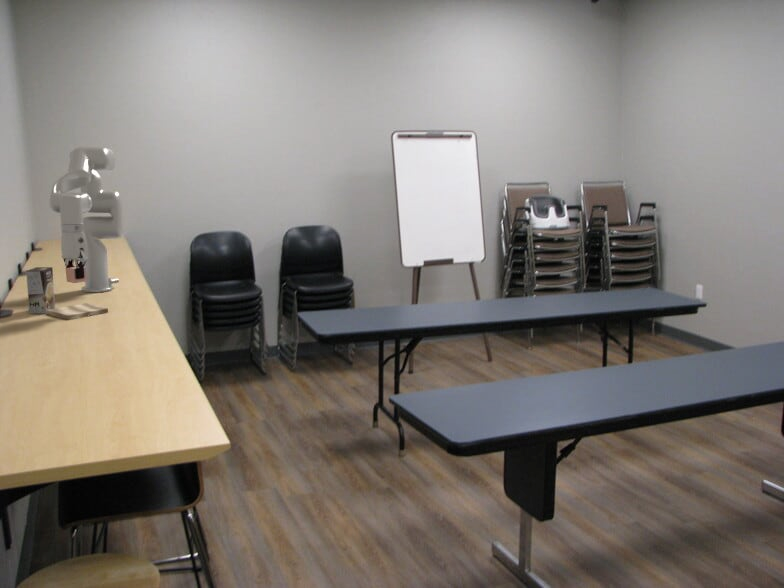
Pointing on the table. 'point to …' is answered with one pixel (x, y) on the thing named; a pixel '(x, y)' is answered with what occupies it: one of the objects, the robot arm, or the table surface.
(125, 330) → the table surface
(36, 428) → the table surface
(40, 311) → the coffee box
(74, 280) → the coral cube
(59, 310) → the birch board
